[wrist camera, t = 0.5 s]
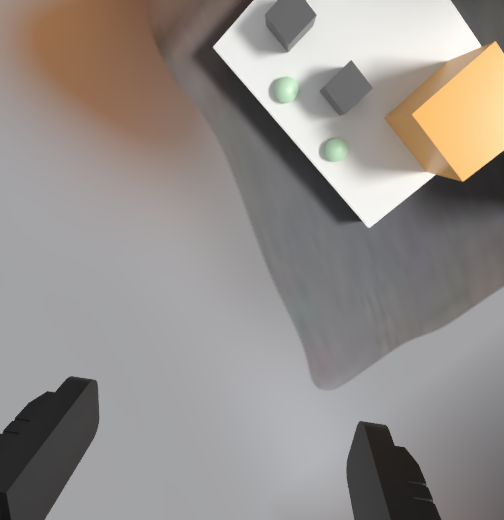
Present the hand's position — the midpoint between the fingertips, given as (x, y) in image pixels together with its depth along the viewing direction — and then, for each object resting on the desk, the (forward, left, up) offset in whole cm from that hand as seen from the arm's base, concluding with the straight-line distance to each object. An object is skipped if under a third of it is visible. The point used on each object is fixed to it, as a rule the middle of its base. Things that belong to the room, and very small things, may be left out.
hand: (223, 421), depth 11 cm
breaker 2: (-12, -4, -22) cm, 25 cm away
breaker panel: (-14, -3, -24) cm, 28 cm away
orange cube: (-16, +3, -22) cm, 27 cm away
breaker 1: (-12, -10, -22) cm, 27 cm away
